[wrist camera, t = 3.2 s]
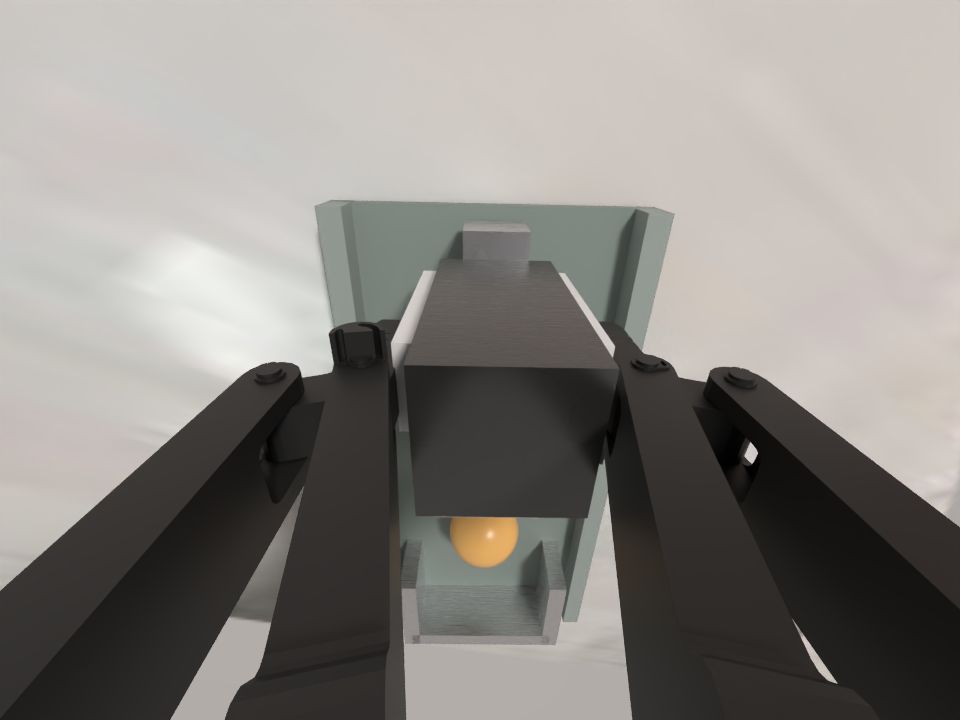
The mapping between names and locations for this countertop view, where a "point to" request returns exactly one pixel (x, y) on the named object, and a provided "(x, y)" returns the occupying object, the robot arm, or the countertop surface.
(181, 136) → the countertop surface
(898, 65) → the countertop surface
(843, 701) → the robot arm
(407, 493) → the grey-green channel tray
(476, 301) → the block
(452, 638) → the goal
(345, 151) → the countertop surface
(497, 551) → the ball
